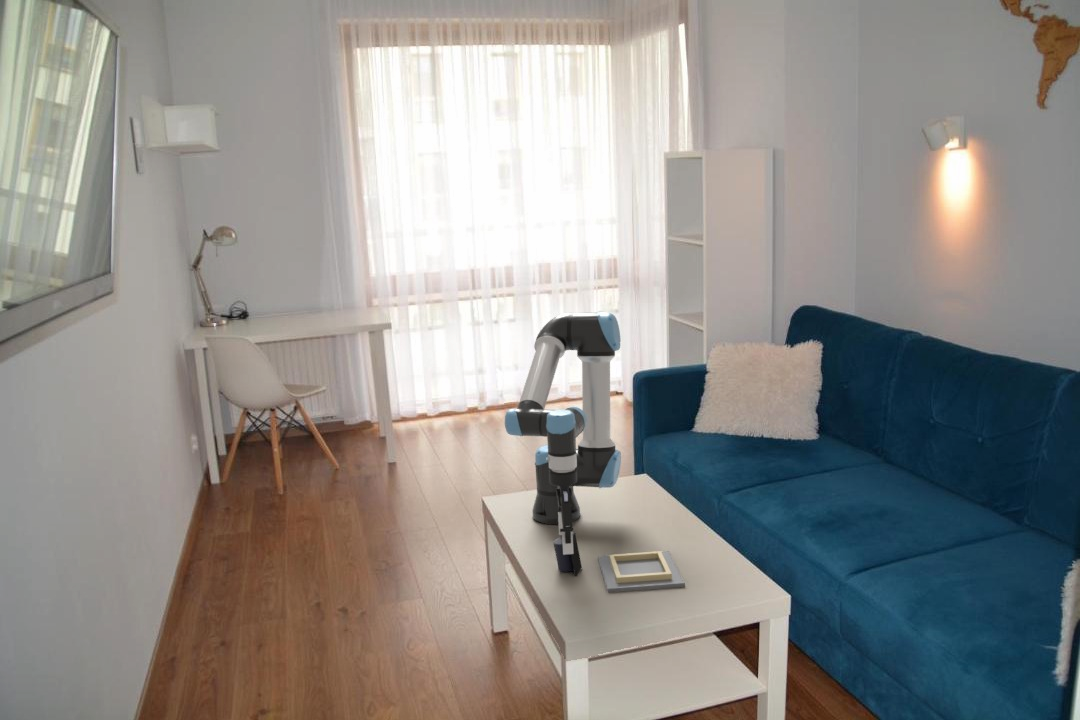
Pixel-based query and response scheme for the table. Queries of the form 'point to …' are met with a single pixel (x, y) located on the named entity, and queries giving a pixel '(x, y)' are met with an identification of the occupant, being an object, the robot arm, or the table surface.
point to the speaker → (567, 556)
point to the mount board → (640, 571)
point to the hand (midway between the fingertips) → (566, 543)
